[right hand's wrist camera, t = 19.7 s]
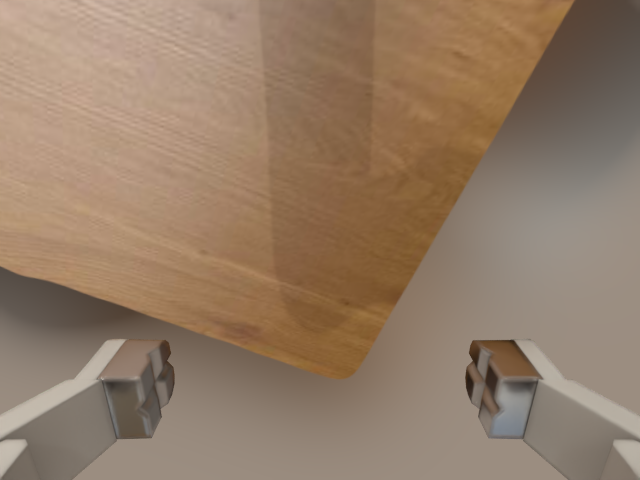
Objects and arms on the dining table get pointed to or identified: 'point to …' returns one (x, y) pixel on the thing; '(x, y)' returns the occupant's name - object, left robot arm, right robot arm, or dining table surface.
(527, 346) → the right robot arm
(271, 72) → the dining table surface
